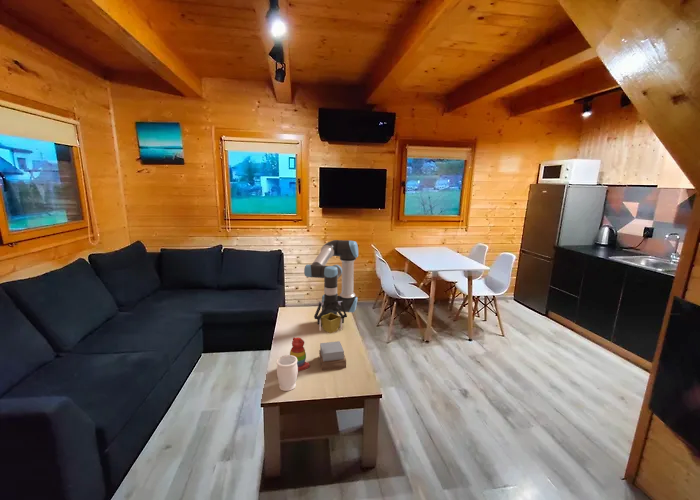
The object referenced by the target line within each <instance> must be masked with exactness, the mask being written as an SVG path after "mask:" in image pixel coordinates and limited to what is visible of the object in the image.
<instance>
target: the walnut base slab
mask: <svg viewBox="0 0 700 500" xmlns="http://www.w3.org/2000/svg"><path fill="white" fill-rule="evenodd" d="M318 352H319V362H320V366H321V371H326V370H337V369H346V368H347V359H346V356H345V354H344V359H341V360H332V361H324V362H323V359H322V355H321V352H320V349H319V351H318Z"/></svg>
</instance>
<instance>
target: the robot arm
mask: <svg viewBox="0 0 700 500" xmlns="http://www.w3.org/2000/svg"><path fill="white" fill-rule="evenodd" d="M332 257H339V260H340V261H341V266H340V265H339V264H334V265H327V263H328V261H329V260H330V259H331V258H332ZM358 257H359V246H358V242H357V241H354V240H347V239H346V240H345V239H344V240H343V239H342V240H341V239H332V240H331V241H328V242H326V243H324V244H323V245H322V247H321V248H320V251H319V253H318V255H317V256H316V257H315V259H314V261H313V262H312V263H311V264H306V265H305V266H304V270H303V273H304V276H305V277H306V278H319V279H324V280H323V281H324V282H323V283H324V286H323V287H324V289H323V293H324V294H323V295H322V296H321V301H319V302H318V306H317V308H316V311H315V314H314V316H313V319H314V320H317V321H316V322H317V325H318V327H319V328H318V329H319V331H320V332H321V331H322V324H321V317H322V316H324V315H326V314H329V313H333V314H335V315H338V316H341V320H340V326H339V328H340V330H343V324H344V323H345V319H346V318H347V317H348V315H347V313H355V312H356V309H357V305H358V296H356V293H355V292H354V283H355V282H354V280H355V278H354V276H355V274H354V272H355V271H354V270H355V261H356V260H357V258H358ZM340 277H341V292H340V293H339V295H338V280H339V278H340Z"/></svg>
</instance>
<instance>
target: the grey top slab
mask: <svg viewBox="0 0 700 500" xmlns="http://www.w3.org/2000/svg"><path fill="white" fill-rule="evenodd" d="M319 344H320V345H319V346H320V347H319V350H320V352H321V355H322V359H323V362H324V361H332V360H341V359H344V355H345V350H344V348H343V346H342V343H341V341H340V340H338V341H329V342H320V343H319Z"/></svg>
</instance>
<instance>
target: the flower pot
mask: <svg viewBox="0 0 700 500" xmlns="http://www.w3.org/2000/svg"><path fill="white" fill-rule="evenodd" d="M340 320H341V316H340V315H339V314H338V315H335V314H333V313H329V314H326V315H324V316H322V317H321V324H322V326H321V328H322V329H323V331H324V332H327V333H329V334H332V333H334V332H337V331H338V329H339V328H340Z"/></svg>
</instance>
